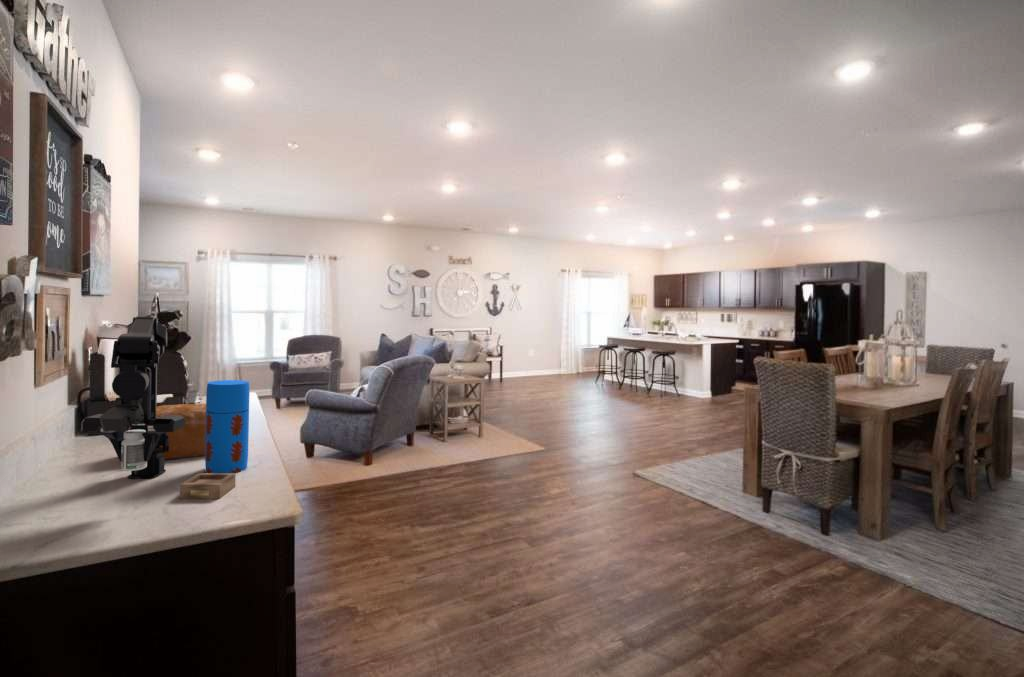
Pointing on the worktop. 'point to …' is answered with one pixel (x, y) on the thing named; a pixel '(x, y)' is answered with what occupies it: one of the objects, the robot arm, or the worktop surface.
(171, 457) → the bread
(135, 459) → the pill bottle
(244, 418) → the thermos
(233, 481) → the wooden tray
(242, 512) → the worktop surface
